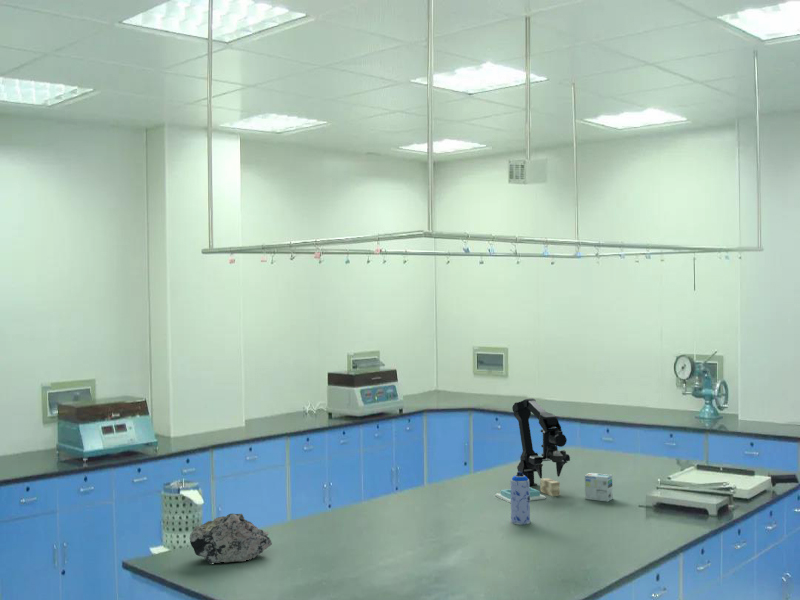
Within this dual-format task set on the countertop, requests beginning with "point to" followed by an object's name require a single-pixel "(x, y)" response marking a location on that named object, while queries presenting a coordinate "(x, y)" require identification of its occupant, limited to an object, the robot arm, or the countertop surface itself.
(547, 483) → the key block
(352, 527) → the countertop surface
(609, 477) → the light bulb box
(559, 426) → the robot arm
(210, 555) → the mineral sample
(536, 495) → the keyed cradle
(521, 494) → the aerosol can
